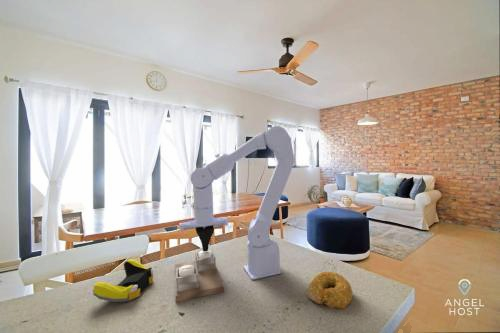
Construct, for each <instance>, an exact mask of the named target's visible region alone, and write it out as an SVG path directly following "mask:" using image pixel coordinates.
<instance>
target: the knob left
mask: <svg viewBox="0 0 500 333" xmlns="http://www.w3.org/2000/svg"><path fill="white" fill-rule="evenodd" d="M192 274H195V272H194V266H193V265H185V266H182V267H180V268H179V277H182V276H187V275H192Z"/></svg>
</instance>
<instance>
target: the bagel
mask: <svg viewBox="0 0 500 333" xmlns="http://www.w3.org/2000/svg"><path fill="white" fill-rule="evenodd" d="M306 295H307V297H308V298H309V299H310V300H311V301H313V302H315V303H316V304H318V305H326V306H327V307H329V308H331V309H335V308H336V309H344V308H346V307H347V306H349V304H350V303H351V302H352V301H353V289H352V286H351V283H349V281H348V280H347V279H346V278H345V277H344V276H343V275H341V274H339V273H337V272H333V271H321V272H319V273H318V274H317V275H315V276H314V277H313V279H312V280H311V281H310V283H309V286H308V288H307V294H306Z"/></svg>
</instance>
